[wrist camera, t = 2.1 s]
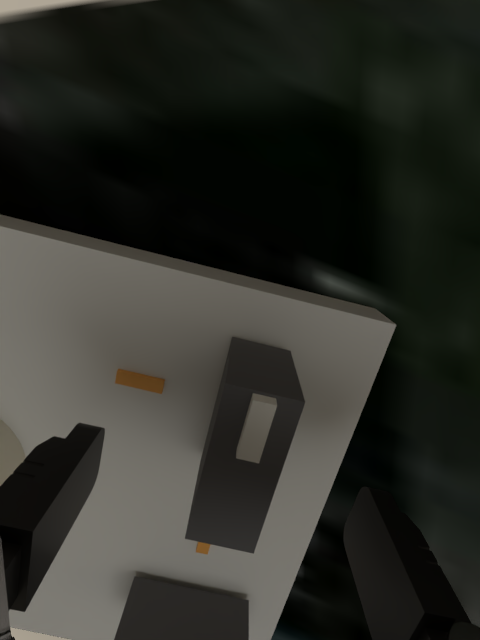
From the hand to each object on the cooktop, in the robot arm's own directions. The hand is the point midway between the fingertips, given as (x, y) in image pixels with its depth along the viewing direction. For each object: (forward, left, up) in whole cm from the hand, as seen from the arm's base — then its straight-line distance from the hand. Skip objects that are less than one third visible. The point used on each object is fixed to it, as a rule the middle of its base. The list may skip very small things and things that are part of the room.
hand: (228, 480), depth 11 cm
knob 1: (0, 0, -4) cm, 4 cm away
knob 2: (0, +12, -4) cm, 13 cm away
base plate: (+5, +6, -7) cm, 10 cm away
